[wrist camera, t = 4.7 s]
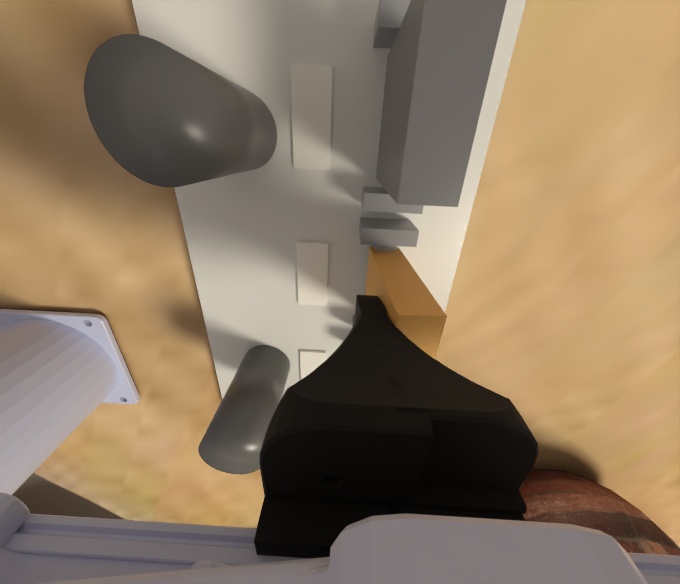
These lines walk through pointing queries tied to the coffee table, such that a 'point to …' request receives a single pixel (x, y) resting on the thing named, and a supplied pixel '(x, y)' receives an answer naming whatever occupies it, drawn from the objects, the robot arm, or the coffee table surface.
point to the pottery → (592, 511)
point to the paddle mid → (405, 297)
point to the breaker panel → (275, 177)
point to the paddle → (435, 98)
